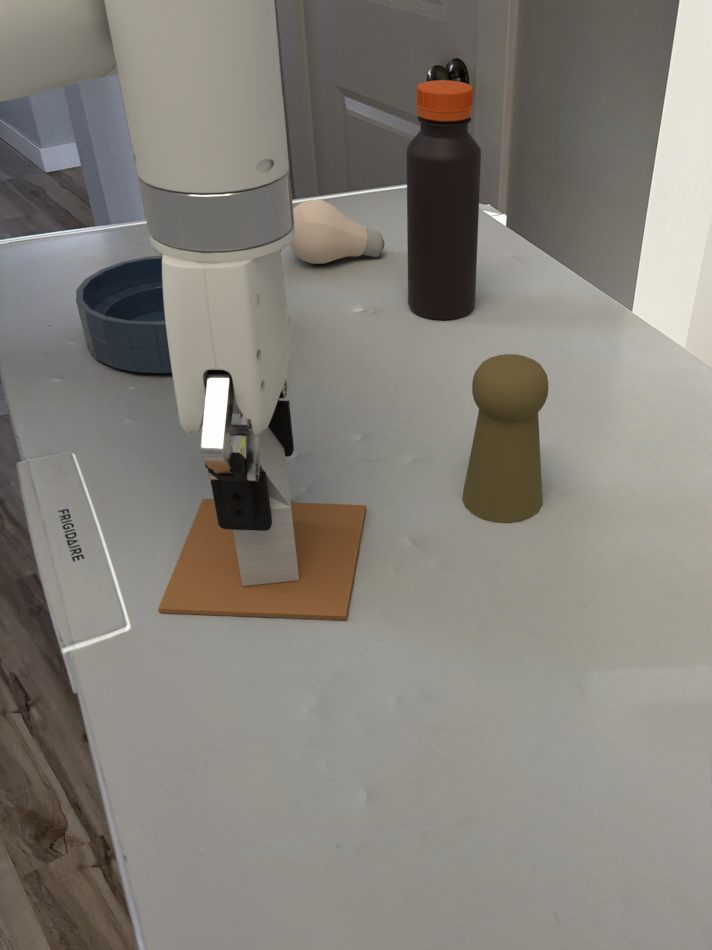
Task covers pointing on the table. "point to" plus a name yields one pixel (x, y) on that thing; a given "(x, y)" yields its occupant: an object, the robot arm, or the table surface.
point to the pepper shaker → (506, 440)
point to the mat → (311, 597)
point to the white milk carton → (275, 548)
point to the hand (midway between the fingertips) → (258, 487)
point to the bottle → (443, 203)
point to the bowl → (126, 315)
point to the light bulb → (330, 234)
